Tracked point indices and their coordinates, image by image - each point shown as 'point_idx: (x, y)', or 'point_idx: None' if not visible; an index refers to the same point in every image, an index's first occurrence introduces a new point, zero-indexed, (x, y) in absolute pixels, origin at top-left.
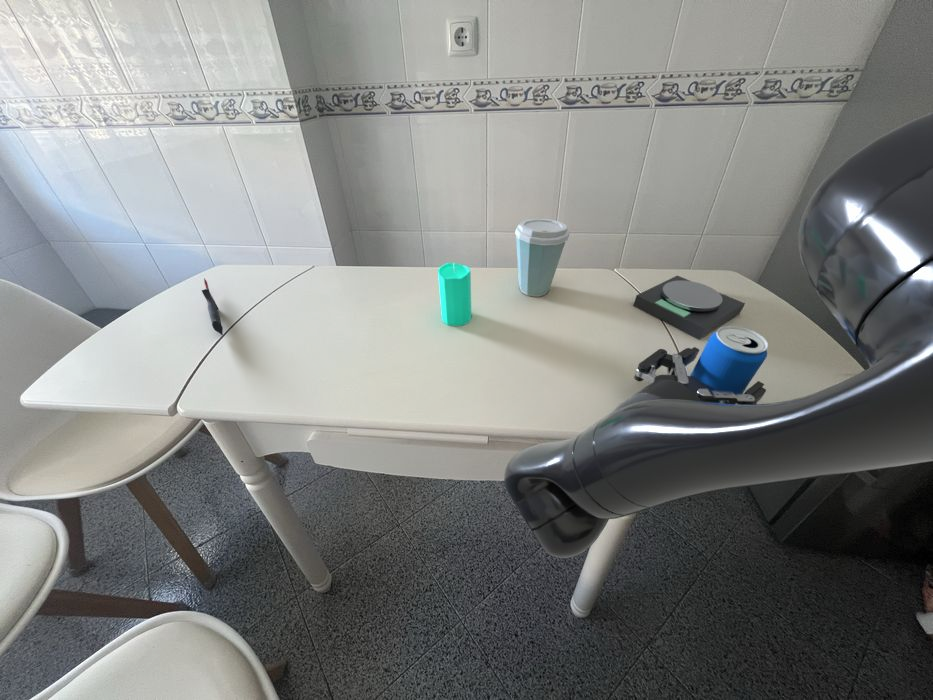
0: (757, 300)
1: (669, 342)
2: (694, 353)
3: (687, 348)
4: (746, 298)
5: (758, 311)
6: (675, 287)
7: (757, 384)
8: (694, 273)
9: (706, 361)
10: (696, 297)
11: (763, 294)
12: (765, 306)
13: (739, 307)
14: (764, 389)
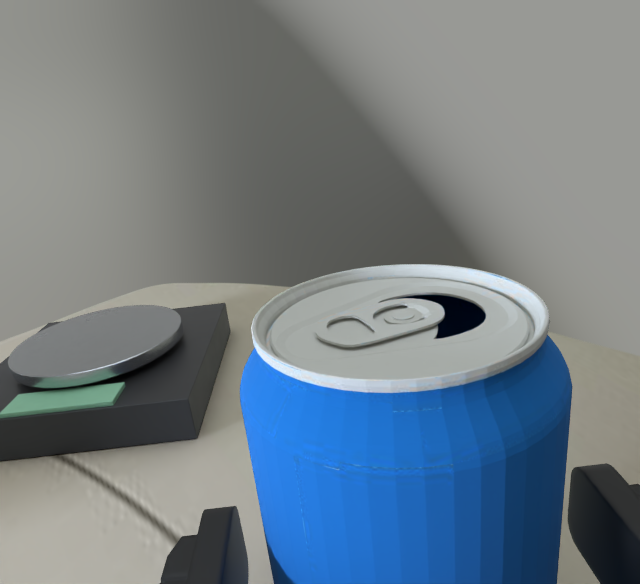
0: (237, 297)
1: (117, 514)
2: (230, 553)
3: (176, 549)
4: (218, 303)
5: (255, 311)
6: (46, 343)
7: (612, 491)
8: (95, 310)
9: (343, 579)
10: (115, 337)
11: (237, 286)
12: (257, 299)
13: (222, 314)
14: (637, 490)
